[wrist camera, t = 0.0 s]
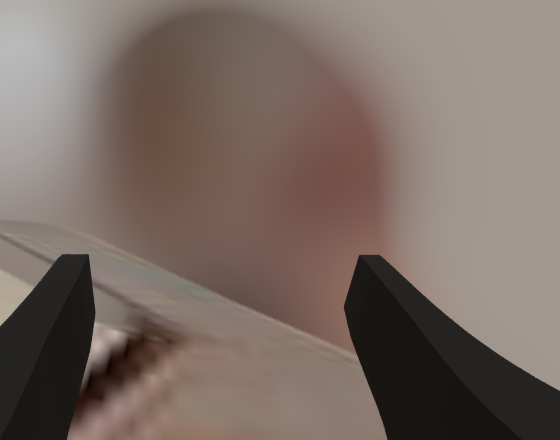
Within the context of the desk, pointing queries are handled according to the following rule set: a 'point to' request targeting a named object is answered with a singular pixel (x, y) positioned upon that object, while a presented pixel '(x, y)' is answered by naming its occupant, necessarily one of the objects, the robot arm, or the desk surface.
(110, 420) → the desk surface
